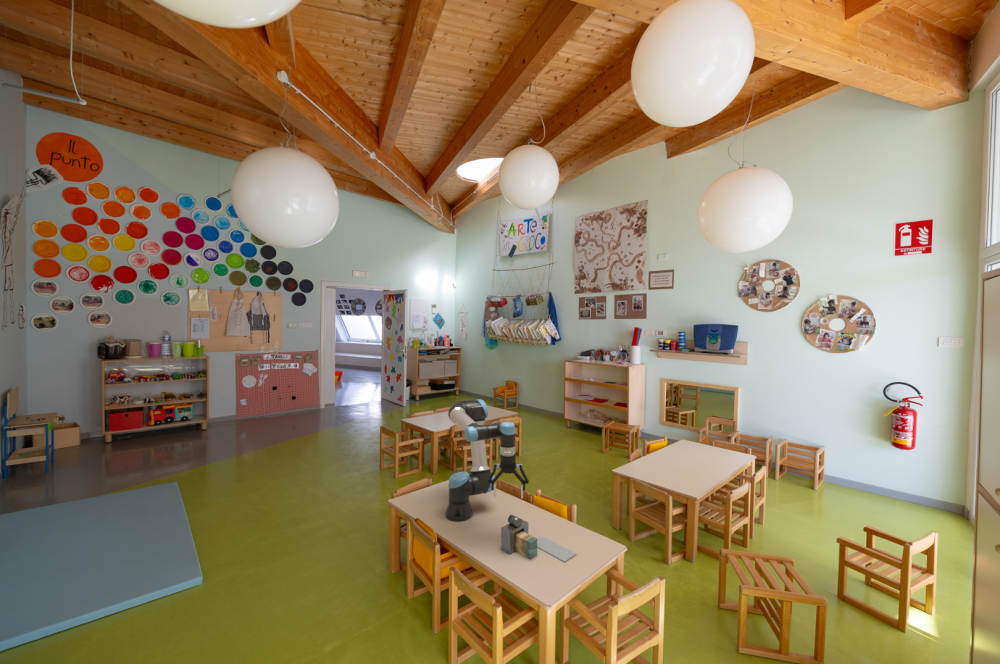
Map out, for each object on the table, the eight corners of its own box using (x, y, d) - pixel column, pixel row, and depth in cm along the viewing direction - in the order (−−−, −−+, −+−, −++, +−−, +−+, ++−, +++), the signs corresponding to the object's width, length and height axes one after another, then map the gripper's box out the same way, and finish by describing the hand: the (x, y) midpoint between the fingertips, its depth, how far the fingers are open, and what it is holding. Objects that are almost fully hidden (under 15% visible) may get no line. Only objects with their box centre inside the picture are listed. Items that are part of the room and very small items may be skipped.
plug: (503, 544, 207) (503, 528, 207) (510, 540, 210) (510, 524, 210) (530, 559, 194) (530, 542, 194) (537, 555, 197) (537, 538, 197)
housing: (501, 549, 202) (501, 519, 202) (519, 539, 211) (519, 510, 210) (509, 554, 198) (509, 523, 197) (528, 544, 207) (528, 514, 206)
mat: (529, 543, 207) (529, 542, 207) (541, 536, 214) (541, 535, 214) (564, 562, 191) (564, 561, 191) (576, 554, 198) (576, 553, 198)
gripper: (482, 456, 203) (482, 499, 204) (533, 457, 201) (533, 500, 201) (484, 451, 211) (484, 493, 211) (533, 452, 209) (533, 494, 209)
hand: (508, 496), depth 206 cm, fingers open, 13 cm apart
